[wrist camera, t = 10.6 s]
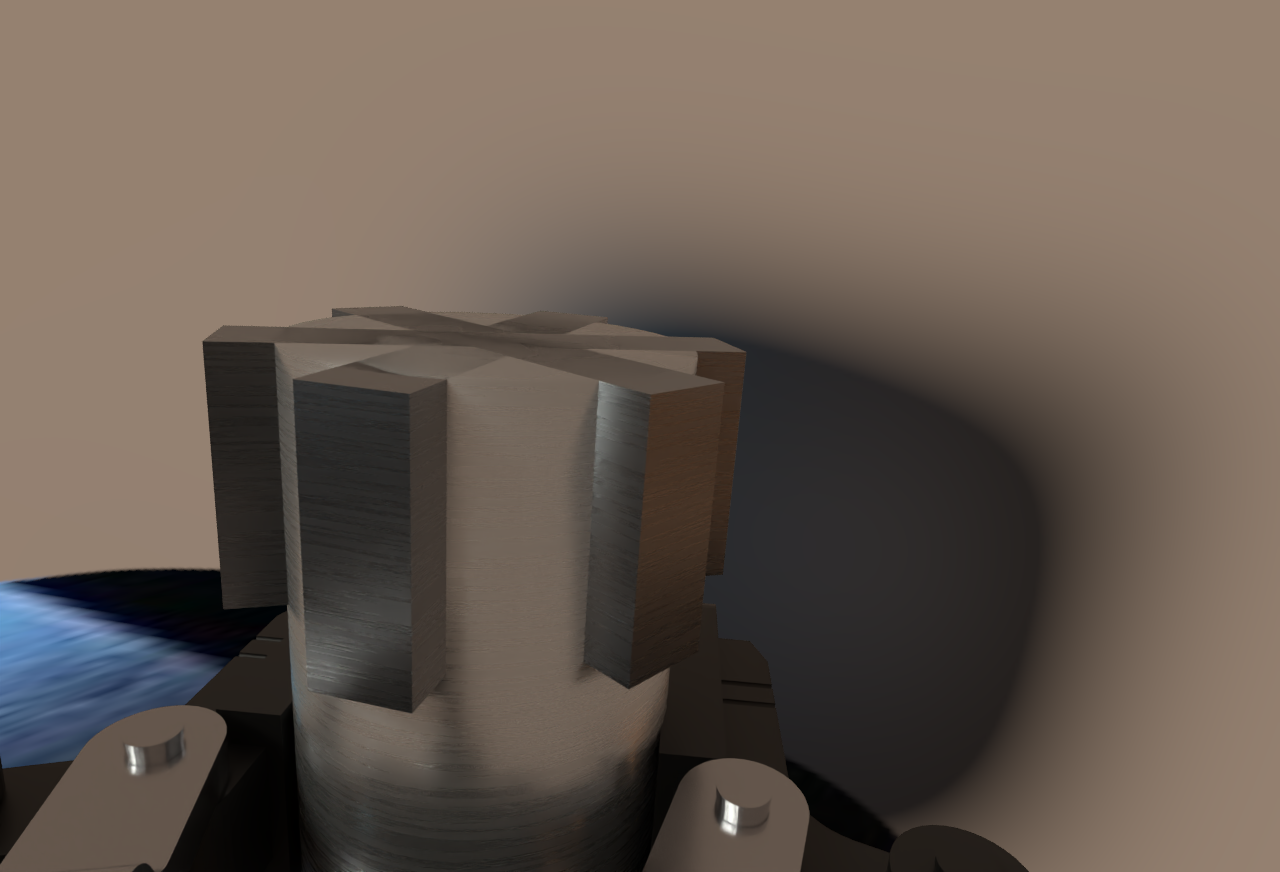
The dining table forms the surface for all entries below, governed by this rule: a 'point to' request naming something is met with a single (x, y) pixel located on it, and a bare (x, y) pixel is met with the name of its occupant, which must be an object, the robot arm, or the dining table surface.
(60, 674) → the dining table surface
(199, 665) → the dining table surface
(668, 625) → the pinion shaft
